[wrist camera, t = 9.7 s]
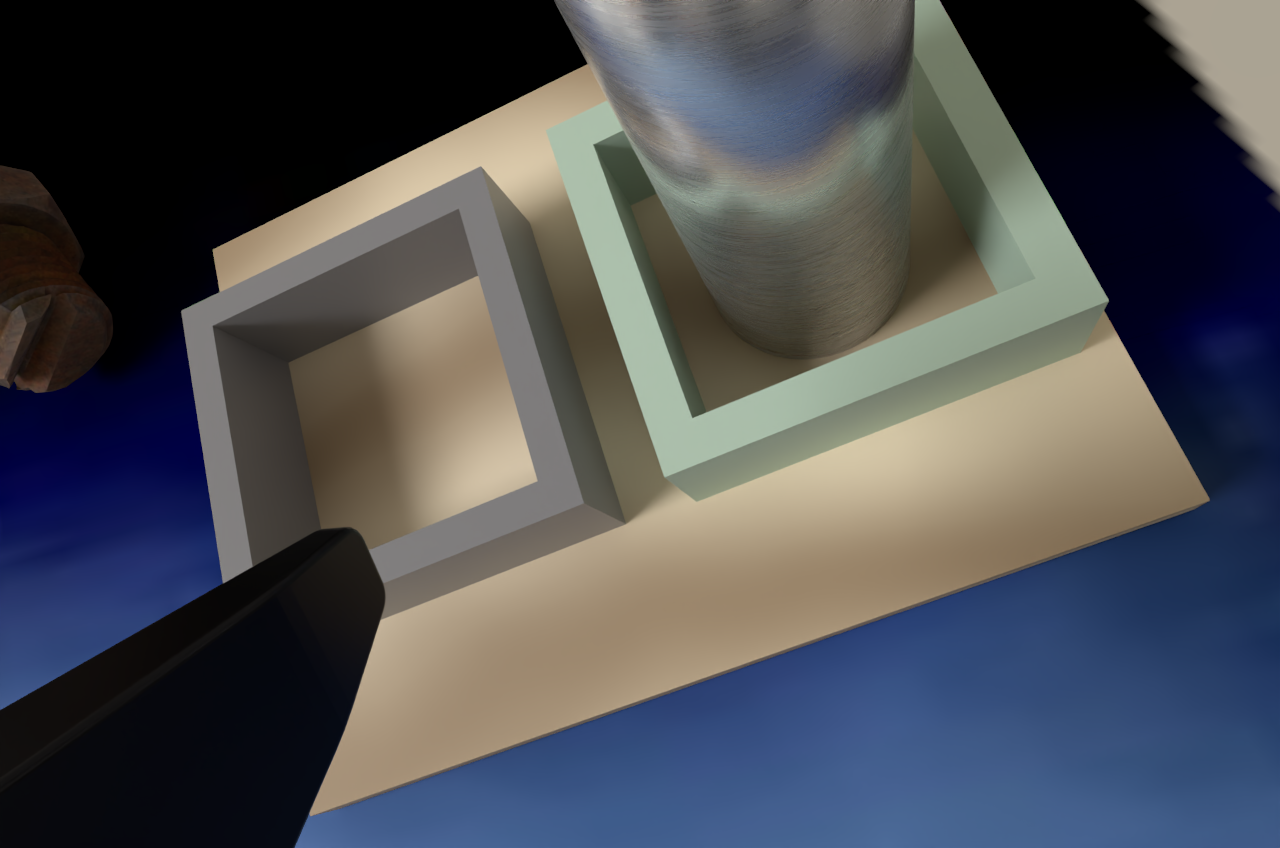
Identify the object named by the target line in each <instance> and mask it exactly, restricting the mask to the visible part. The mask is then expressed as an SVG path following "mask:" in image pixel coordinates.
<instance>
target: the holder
mask: <svg viewBox="0 0 1280 848" xmlns="http://www.w3.org/2000/svg"><path fill="white" fill-rule="evenodd" d="M476 276H478V277H479V280H480V283H481V287H482V290H483V294H484V297H485V301H486V304H487V308H488V311H489V315H490V318H491V321H492V325H493V328H494V332H495V335H496V339H497V342H498V346H499V349H500V353H501V356H502V359H503V363H504V366H505V370H506V373H507V377H508V380H509V384H510V387H511V391H512V394H513V397H514V401H515V404H516V408H517V411H518V415H519V418H520V422H521V425H522V429H523V432H524V435H525V439H526V442H527V446H528V449H529V453H530V456H531V460H532V463H533V467H534V470H535V474H536V477H537V480H538V481H537V482H535V483H532V484H530V485H527V486H525V487H522V488H520V489H518V490H515V491H513V492H510V493H508V494H505V495H503V496H500V497H498V498H495V499H493V500H491V501H488V502H486V503H483V504H481V505H478V506H476V507H473V508H471V509H468V510H466V511H464V512H461V513H459V514H456V515H454V516H451V517H449V518H446V519H444V520H441V521H439V522H437V523H434V524H432V525H429V526H427V527H424V528H422V529H419V530H417V531H414V532H412V533H410V534H407V535H405V536H402V537H400V538H397V539H395V540H392V541H390V542H387V543H385V544H383V545H380V546H378V547H375V548H373V549H370V550H369V552H370V554H371V556H372V559H373V561H374V563H375V565H376V568H377V570H378V572H379V574H380V577H381V579H382V581H383V584H384V588H385V594H386V600H385V607H384V611H383V614H382V617H381V620H382V619H384V618H387V617H390V616H392V615H395V614H397V613H400V612H402V611H405V610H408V609H410V608H413V607H415V606H418V605H420V604H423V603H425V602H428V601H431V600H433V599H436V598H438V597H441V596H443V595H446V594H449V593H451V592H454V591H456V590H459V589H461V588H464V587H466V586H469V585H472V584H474V583H477V582H479V581H482V580H484V579H487V578H490V577H492V576H495V575H497V574H500V573H502V572H505V571H507V570H510V569H513V568H515V567H518V566H520V565H523V564H525V563H528V562H531V561H533V560H536V559H538V558H541V557H543V556H546V555H548V554H551V553H554V552H556V551H559V550H561V549H564V548H566V547H569V546H572V545H574V544H577V543H579V542H582V541H584V540H587V539H589V538H592V537H595V536H597V535H600V534H602V533H605V532H607V531H610V530H613V529H615V528H618V527H620V526H623V525H625V524H626V522H625V519H624V516H623V512H622V509H621V506H620V503H619V500H618V497H617V494H616V491H615V487H614V484H613V481H612V478H611V475H610V472H609V469H608V466H607V462H606V459H605V456H604V453H603V450H602V447H601V444H600V441H599V437H598V434H597V431H596V428H595V425H594V422H593V419H592V416H591V412H590V409H589V406H588V403H587V400H586V397H585V394H584V391H583V387H582V384H581V381H580V378H579V375H578V372H577V369H576V366H575V362H574V359H573V356H572V353H571V350H570V347H569V344H568V341H567V337H566V334H565V331H564V328H563V325H562V322H561V319H560V316H559V312H558V309H557V306H556V303H555V300H554V297H553V294H552V291H551V287H550V284H549V281H548V278H547V275H546V272H545V269H544V266H543V262H542V259H541V256H540V253H539V250H538V247H537V244H536V241H535V237H534V234H533V231H532V228H531V225H530V222H529V221H528V220H527V219H526V218H525V217H524V215H523V214H522V213H521V212H520V211H519V210H518V208H517V207H516V206H515V205H514V204H513V203H512V202H511V200H510V199H509V198H508V197H507V196H506V195H505V193H504V192H503V191H502V190H501V189H500V188H499V186H498V185H497V184H496V183H495V182H494V181H493V179H492V178H491V177H490V176H489V175H488V174H487V173H486V171H485V170H484V169H483V168H482V167H481V166H480V167H478V168H476V169H474V170H472V171H470V172H468V173H466V174H463V175H461V176H459V177H457V178H455V179H453V180H451V181H449V182H447V183H445V184H443V185H441V186H439V187H437V188H434V189H432V190H430V191H428V192H426V193H424V194H422V195H420V196H418V197H416V198H414V199H412V200H410V201H408V202H406V203H403V204H401V205H399V206H397V207H395V208H393V209H391V210H389V211H387V212H385V213H383V214H381V215H379V216H377V217H374V218H372V219H370V220H368V221H366V222H364V223H362V224H360V225H358V226H356V227H354V228H352V229H350V230H348V231H346V232H343V233H341V234H339V235H337V236H335V237H333V238H331V239H329V240H327V241H325V242H323V243H321V244H319V245H317V246H314V247H312V248H310V249H308V250H306V251H304V252H302V253H300V254H298V255H296V256H294V257H292V258H290V259H288V260H286V261H283V262H281V263H279V264H277V265H275V266H273V267H271V268H269V269H267V270H265V271H263V272H261V273H259V274H257V275H254V276H252V277H250V278H248V279H246V280H244V281H242V282H240V283H238V284H236V285H234V286H232V287H230V288H228V289H226V290H223V291H221V292H219V293H217V294H215V295H213V296H211V297H209V298H207V299H205V300H203V301H201V302H199V303H197V304H194V305H192V306H190V307H188V308H186V309H184V310H182V311H181V313H182V320H183V326H184V333H185V339H186V346H187V352H188V359H189V365H190V372H191V378H192V384H193V391H194V397H195V404H196V410H197V417H198V423H199V430H200V436H201V443H202V449H203V456H204V462H205V469H206V475H207V482H208V488H209V495H210V501H211V508H212V514H213V521H214V527H215V534H216V540H217V546H218V553H219V559H220V566H221V572H222V579H223V583H225V582H227V581H228V580H230V579H232V578H234V577H235V576H237V575H239V574H241V573H242V572H244V571H246V570H248V569H249V568H251V567H253V566H255V565H256V564H258V563H260V562H262V561H264V560H265V559H267V558H269V557H271V556H272V555H274V554H276V553H278V552H279V551H281V550H283V549H285V548H286V547H288V546H290V545H292V544H293V543H295V542H297V541H299V540H300V539H302V538H304V537H306V536H307V535H309V534H311V533H313V532H315V531H317V530H320V529H321V526H320V521H319V516H318V510H317V505H316V500H315V495H314V490H313V485H312V480H311V475H310V470H309V465H308V460H307V455H306V450H305V444H304V439H303V434H302V429H301V424H300V419H299V414H298V409H297V404H296V399H295V394H294V389H293V384H292V378H291V373H290V368H289V362H291V361H293V360H295V359H297V358H300V357H302V356H304V355H306V354H308V353H311V352H313V351H315V350H317V349H319V348H321V347H324V346H326V345H328V344H330V343H332V342H335V341H337V340H339V339H341V338H343V337H345V336H348V335H350V334H352V333H354V332H356V331H358V330H361V329H363V328H365V327H367V326H369V325H372V324H374V323H376V322H378V321H380V320H382V319H385V318H387V317H389V316H391V315H393V314H396V313H398V312H400V311H402V310H404V309H406V308H409V307H411V306H413V305H415V304H417V303H419V302H422V301H424V300H426V299H428V298H430V297H433V296H435V295H437V294H439V293H441V292H443V291H446V290H448V289H450V288H452V287H454V286H457V285H459V284H461V283H463V282H465V281H467V280H470V279H472V278H474V277H476Z"/></svg>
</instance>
